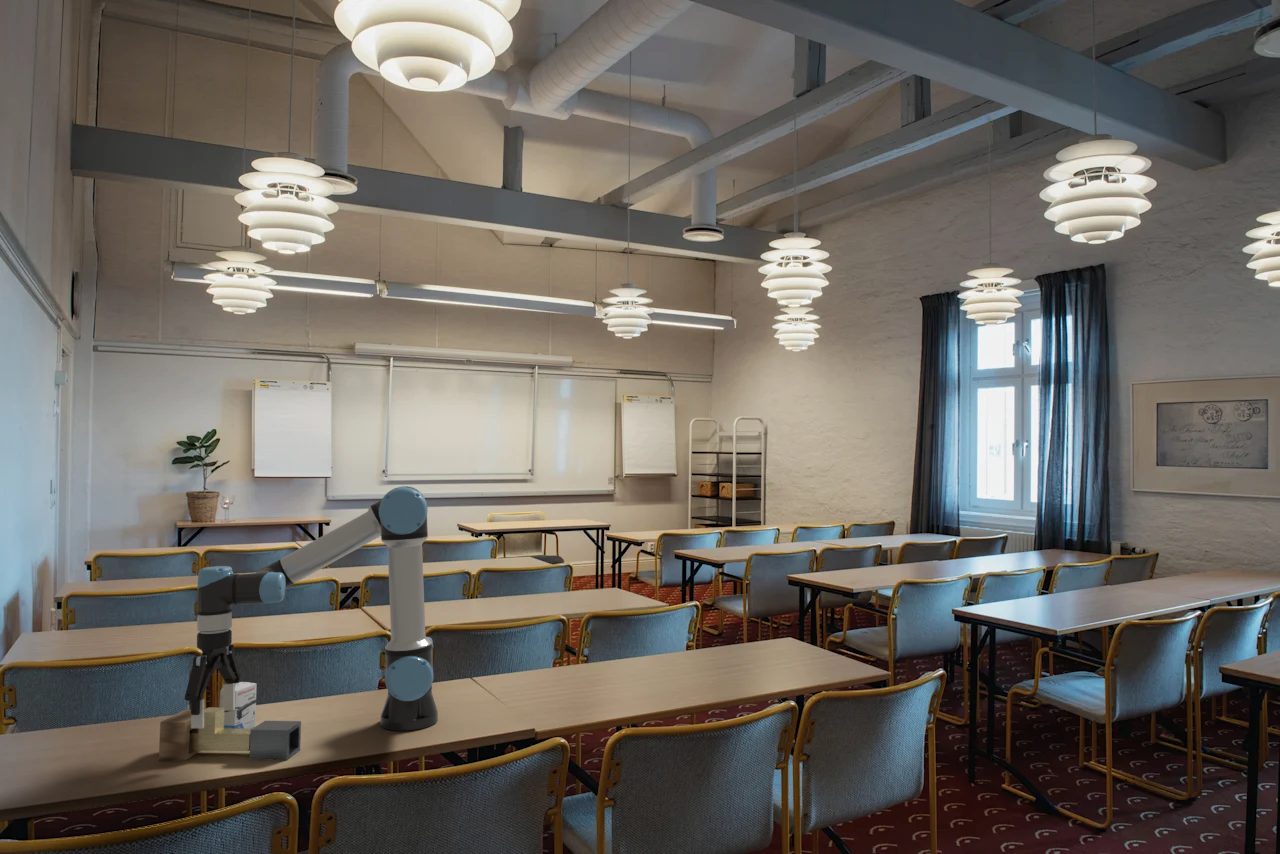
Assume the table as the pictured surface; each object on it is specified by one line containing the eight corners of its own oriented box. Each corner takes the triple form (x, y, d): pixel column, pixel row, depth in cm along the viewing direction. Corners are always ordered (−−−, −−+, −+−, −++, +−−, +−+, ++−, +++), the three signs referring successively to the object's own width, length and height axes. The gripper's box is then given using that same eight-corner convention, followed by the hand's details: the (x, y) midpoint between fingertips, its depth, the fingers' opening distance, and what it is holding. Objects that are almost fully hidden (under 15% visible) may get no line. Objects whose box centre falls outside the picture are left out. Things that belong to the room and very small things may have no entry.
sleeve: (300, 750, 196) (301, 721, 196) (286, 760, 189) (287, 730, 189) (264, 749, 196) (265, 720, 197) (249, 759, 189) (250, 729, 190)
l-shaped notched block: (257, 745, 195) (258, 708, 195) (248, 751, 191) (250, 712, 191) (189, 744, 195) (190, 707, 196) (179, 750, 191) (180, 712, 192)
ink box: (234, 737, 205) (235, 690, 206) (217, 735, 206) (218, 689, 207) (256, 726, 214) (257, 682, 214) (240, 725, 215) (241, 681, 215)
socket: (207, 746, 198) (209, 709, 199) (183, 761, 188) (185, 722, 189) (184, 746, 198) (185, 709, 199) (158, 760, 188) (160, 722, 189)
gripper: (227, 620, 207) (226, 703, 206) (167, 642, 182) (166, 736, 181) (255, 620, 207) (255, 703, 206) (200, 641, 182) (199, 735, 181)
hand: (213, 718), depth 194 cm, fingers open, 13 cm apart
